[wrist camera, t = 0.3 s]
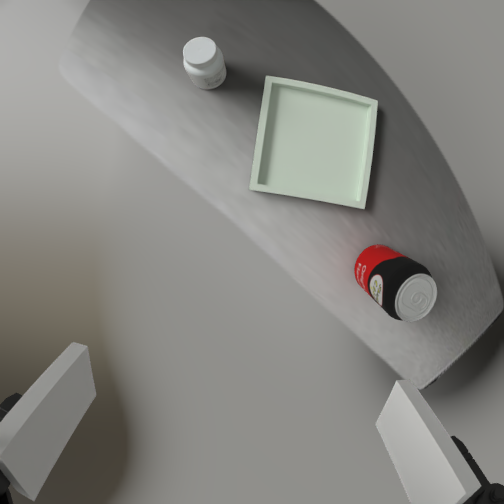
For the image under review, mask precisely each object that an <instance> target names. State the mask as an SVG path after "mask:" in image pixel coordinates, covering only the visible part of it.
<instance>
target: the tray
mask: <svg viewBox="0 0 504 504" xmlns="http://www.w3.org/2000/svg"><path fill="white" fill-rule="evenodd" d="M377 104H378V101H377V100H374V99H370V98H367V97H364V96H360V95H357V94H353V93H349V92H345V91H342V90H338V89H334V88H329V87H325V86H321V85H316V84H312V83H307V82H302V81H296V80H291V79H285V78H279V77H273V76H266V79H265V86H264V92H263V99H262V105H261V112H260V118H259V125H258V132H257V139H256V145H255V152H254V159H253V166H252V173H251V180H250V187H249V190H255V191H262V192H269V193H275V194H282V195H288V196H294V197H301V198H307V199H312V200H318V201H324V202H329V203H335V204H340V205H345V206H351V207H356V208H361V209H365V203H366V197H367V191H368V184H369V178H370V170H371V163H372V155H373V147H374V138H375V128H376V117H377Z"/></svg>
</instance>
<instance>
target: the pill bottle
mask: <svg viewBox="0 0 504 504" xmlns="http://www.w3.org/2000/svg"><path fill="white" fill-rule="evenodd" d="M183 56H184V67H185V69H186V71H187V73H188V75H189V76H190V78H191V80H192V81H193V83H194V84H195V85H196V86H197V87H199V88H202V89H213V88H216V87H218V86H219V85H221V84H222V83H223V81H224V80H225V77H226V66H225V62H224V57H223V53H222V51H221V50H220V49H219V48H218V47H217V46H216V44H215V43H214V41H213V40H211V39H209V38H206V37H197V38H194V39H192V40H190V41H189V42H188V43H187V44H186V45H185V47H184V49H183Z"/></svg>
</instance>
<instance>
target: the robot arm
mask: <svg viewBox="0 0 504 504" xmlns="http://www.w3.org/2000/svg"><path fill="white" fill-rule="evenodd" d="M95 396H96V391H95V386H94V381H93V376H92V370H91V365H90V359H89V352H88V346H85V345H81V344H78V343H75V342H72V343H71V344H70V345H69V346H68V347H67V349H66V350H65V351H64V352H63V353H62V354H61V355H60V356H59V357H58V358H57V359H56V360H55V361H54V362H53V363H52V364H51V365H50V366H49V368H48V369H47V370H46V371H45V372H44V373H43V374H42V375H41V376H40V377H39V378H38V380H37V381H36V382H35V383H34V384H33V385H32V386H31V387H30V388H29V390H28V391H27V392H26V393H25V394H24V395H23V396H22V395H20V394H18V393H15V394H14V395H11V396H10V397H8V398H6V399H5V400H4V401H3V402H2V403H1V405H0V504H13V501H12V498H11V493H10V491H9V489H8V487H9V485H10V483H11V484H12V486H13V487H14V488H15V489H16V490H17V491H18V492H19V493H21V494H23V495H24V496H26V497H28V498H29V499H31V500H33V501H34V500H35V498H36V497H37V495H38V493H39V491H40V489H41V487H42V485H43V484H44V482H45V480H46V478H47V476H48V474H49V473H50V471H51V469H52V467H53V466H54V464H55V462H56V460H57V459H58V457H59V455H60V454H61V452H62V450H63V448H64V447H65V445H66V443H67V442H68V440H69V438H70V437H71V435H72V433H73V432H74V430H75V428H76V427H77V425H78V423H79V422H80V420H81V418H82V417H83V415H84V414H85V412H86V410H87V409H88V407H89V405H90V404H91V402H92V401H93V399H94V398H95ZM375 424H376V426H377V429H378V431H379V433H380V435H381V437H382V440H383V441H384V444H385V446H386V448H387V450H388V453H389V455H390V457H391V459H392V462H393V464H394V466H395V468H396V471H397V473H398V475H399V477H400V480H401V482H402V484H403V487H404V489H405V491H406V494H407V496H408V498H409V501H410V503H411V504H504V486H503V485H501V484H498V483H494V484H490V483H489V481H488V480H487V479H486V477H485V475H484V474H483V472H482V471H481V469H480V468H479V466H478V465H477V463H476V462H475V460H474V459H473V457H472V456H471V454H470V453H468V450H467V448H466V447H465V445H464V444H463V443H462V442H461V441H460V440H459V439H457V438H456V437H455V436H452V437H450V436H449V434H448V433H447V431H446V430H445V428H444V427H443V426H442V424H441V423H440V421H439V420H438V418H437V417H436V415H435V414H434V412H433V411H432V409H431V408H430V407H429V405H428V404H427V402H426V401H425V399H424V398H423V397H422V395H421V394H420V392H419V391H418V390H417V388H416V387H415V385H414V384H413V383H412V381H411V380H397V381H396V383H395V385H394V387H393V389H392V392H391V394H390V396H389V398H388V400H387V402H386V404H385V406H384V408H383V410H382V412H381V414H380V416H379V418H378V420H377V422H376V423H375Z"/></svg>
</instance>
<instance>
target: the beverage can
mask: <svg viewBox="0 0 504 504" xmlns="http://www.w3.org/2000/svg"><path fill="white" fill-rule="evenodd" d="M355 277H356V280H357V282H358V284H359V285H360V286H361V287H362V288H363V289H364V290H365V291H366V292H367V293H368V294H369V295H370V296H371V297H372V298H373V299H374V300H375V301H376V302H377V303H378V304H379V305H380V306H381V307H382V308H383V309H384V310H385V311H386V312H387V313H388V314H389V315H390V316H391V317H392V318H394V319H397V320H404V321H406V322H415V321H418V320H420V319H422V318H424V317H425V316H426V315H427V314H428V313H429V312H430V311H431V309H432V308H433V306H434V304H435V301H436V297H437V286H436V283H435V281H434V280H433V279H432V276H431V274H430V272H429V271H428V270H427V268H426V267H424V266H423V265H421V264H419V263H417V262H416V261H414V260H412V259H410V258H408V257H406V256H404V255H402V254H400V253H399V252H397V251H395V250H393V249H391V248H389V247H387V246H384V245H373V246H370V247H368V248H366V249H365V250H364V251H363V252H362V253H361V254H360V255H359V257H358V259H357V261H356V264H355Z"/></svg>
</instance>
